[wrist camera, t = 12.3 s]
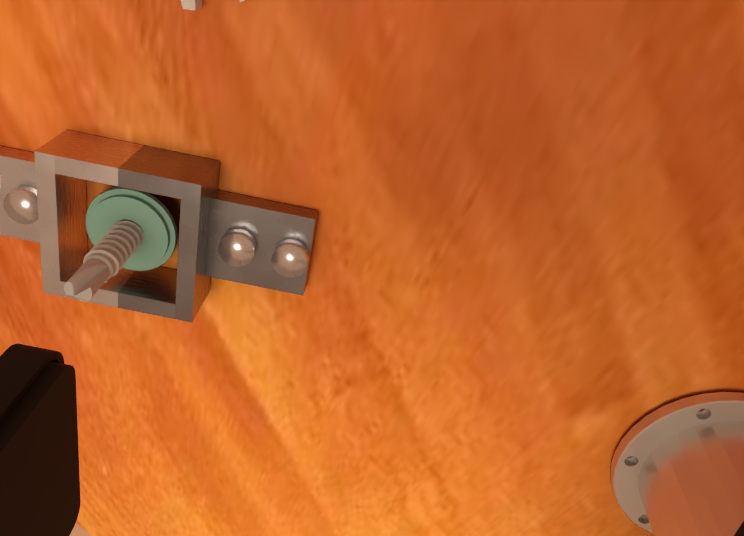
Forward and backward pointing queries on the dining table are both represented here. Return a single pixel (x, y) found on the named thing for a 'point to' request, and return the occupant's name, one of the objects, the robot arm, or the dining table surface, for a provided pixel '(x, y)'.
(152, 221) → the screw
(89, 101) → the dining table surface
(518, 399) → the dining table surface
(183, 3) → the pliers
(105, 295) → the riveted metal bracket
